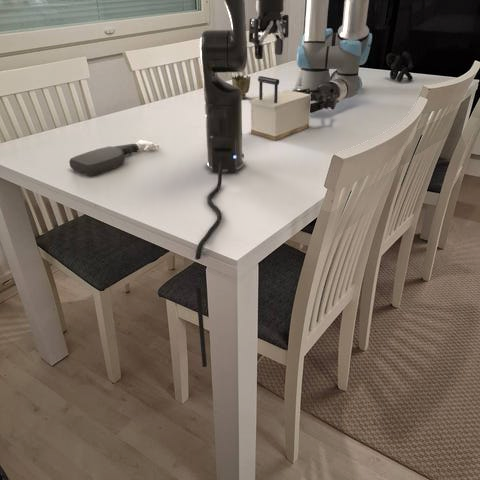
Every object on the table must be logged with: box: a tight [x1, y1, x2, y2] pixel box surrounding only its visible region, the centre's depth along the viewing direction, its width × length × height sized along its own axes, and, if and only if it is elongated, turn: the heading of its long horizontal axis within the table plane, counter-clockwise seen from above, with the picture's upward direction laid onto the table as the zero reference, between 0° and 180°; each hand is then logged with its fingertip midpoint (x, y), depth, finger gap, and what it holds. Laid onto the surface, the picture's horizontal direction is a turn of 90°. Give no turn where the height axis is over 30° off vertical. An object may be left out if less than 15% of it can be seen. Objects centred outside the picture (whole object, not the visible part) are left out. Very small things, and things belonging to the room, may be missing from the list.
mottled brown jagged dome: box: [231, 74, 252, 99], centre depth 177 cm, size 8×7×8 cm
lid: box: [248, 75, 311, 109], centre depth 137 cm, size 18×10×8 cm, turn 136°
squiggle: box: [385, 51, 414, 83], centre depth 198 cm, size 11×10×15 cm
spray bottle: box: [68, 139, 160, 177], centre depth 124 cm, size 3×11×24 cm
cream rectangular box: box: [250, 97, 311, 141], centre depth 142 cm, size 17×10×10 cm, turn 136°
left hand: (268, 56), depth 128 cm, fingers open, 8 cm apart
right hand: (293, 104), depth 144 cm, fingers open, 13 cm apart
